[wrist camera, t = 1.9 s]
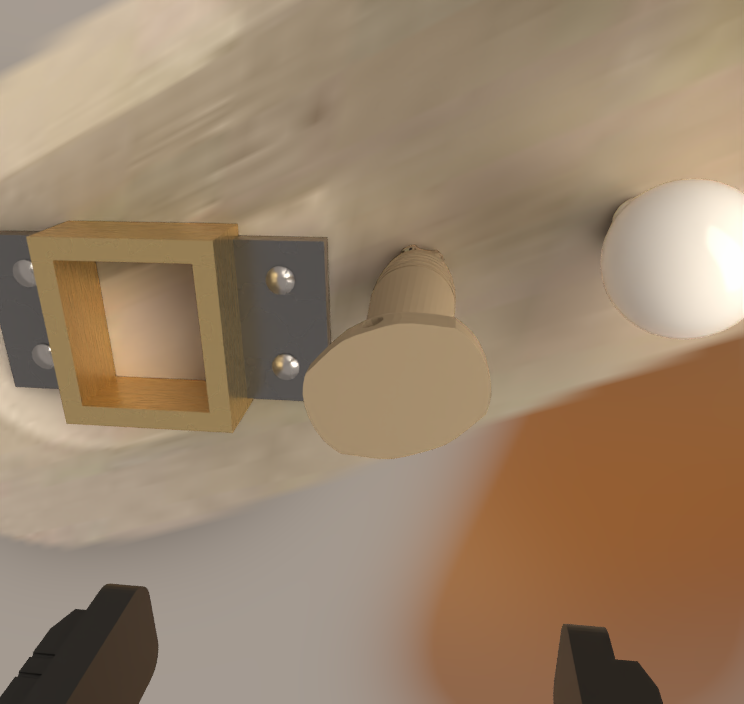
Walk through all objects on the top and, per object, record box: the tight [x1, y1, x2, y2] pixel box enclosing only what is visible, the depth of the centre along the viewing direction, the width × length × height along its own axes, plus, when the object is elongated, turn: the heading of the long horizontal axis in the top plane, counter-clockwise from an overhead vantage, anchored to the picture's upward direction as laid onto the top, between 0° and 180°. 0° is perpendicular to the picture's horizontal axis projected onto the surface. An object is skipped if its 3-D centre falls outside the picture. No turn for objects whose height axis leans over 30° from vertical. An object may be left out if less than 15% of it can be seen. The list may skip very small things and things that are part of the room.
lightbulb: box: [601, 178, 744, 339], centre depth 28 cm, size 6×6×11 cm
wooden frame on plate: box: [0, 221, 331, 433], centre depth 37 cm, size 11×20×4 cm, turn 90°
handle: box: [303, 245, 491, 459], centre depth 29 cm, size 5×6×15 cm
